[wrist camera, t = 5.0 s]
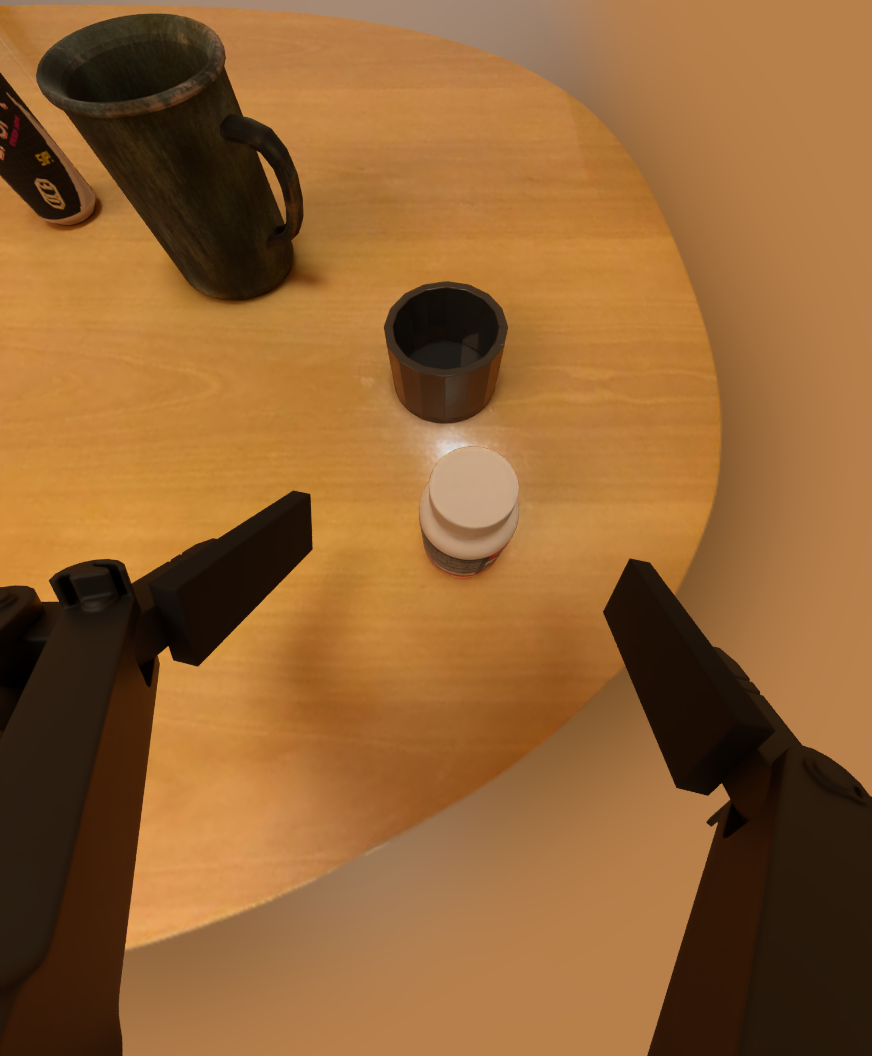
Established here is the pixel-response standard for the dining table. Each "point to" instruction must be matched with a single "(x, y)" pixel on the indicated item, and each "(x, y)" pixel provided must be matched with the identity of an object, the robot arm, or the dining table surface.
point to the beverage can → (39, 165)
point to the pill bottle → (469, 510)
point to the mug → (180, 147)
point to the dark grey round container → (445, 350)
